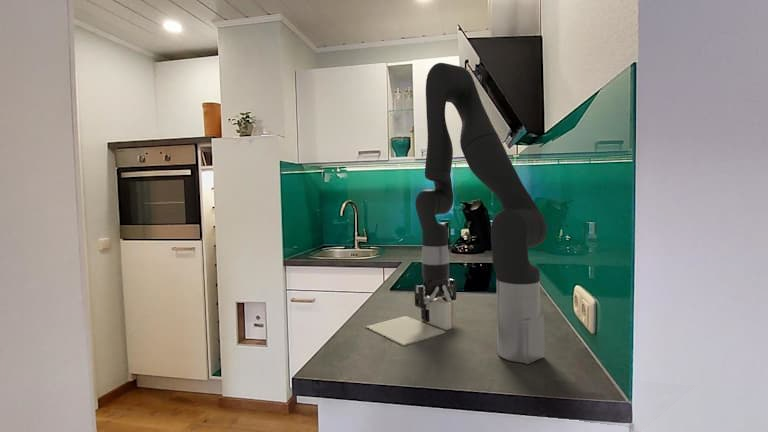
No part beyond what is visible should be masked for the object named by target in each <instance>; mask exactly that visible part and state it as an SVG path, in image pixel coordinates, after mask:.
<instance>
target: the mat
mask: <svg viewBox="0 0 768 432" xmlns="http://www.w3.org/2000/svg"><path fill="white" fill-rule="evenodd" d="M365 327H367V328H366V329H368V328H369V329H368V330H369V331H370V330H371V331H372V332H375V334H378V335H380V336H382V337H384V336H385V337H384V338H386V339H389V340H391V341H392V342H394V343H396V344H398V345H401V346H403V347H405V346H408V345H411V344H412V345H413V344H415V343H417V342H421V341H423V340H424V341H425V340H427V339H430V338H434V337H437V336H439V335H442V334H446V330H444V329H442V328H439V327H438V328H437V327H436V326H434V325H431V324H429V323H426V322H423V321H419V320H417V319H414V318H413V317H409V316H407V315H404V316H400V317H396V318H393V319H389V320H386V321H382V322H378V323H374V324H370V325H367V326H365Z"/></svg>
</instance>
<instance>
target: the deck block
mask: <svg viewBox="0 0 768 432" xmlns="http://www.w3.org/2000/svg"><path fill="white" fill-rule="evenodd" d="M427 297H428V298H429V296H427ZM426 302H427V301H426ZM425 304H426V303H425ZM453 313H454V312H453V311H452V303H451V302H447V301H444V300H442V298H441V299H440V298H438V297H437V298H434V300H433V302H431V304H430V307H429V317H430V321H429V322H427V323H426V324H428V325H431V326H433V327H436V328H437V327H438V328H439V329H441V330H444V331H447V330H450V329H453V328H454V326H453V325H454V322H453V321H454V319H453V318H454V317H453ZM421 322H424V321H423V320H422V319H421Z"/></svg>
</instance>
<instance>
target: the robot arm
mask: <svg viewBox="0 0 768 432" xmlns="http://www.w3.org/2000/svg"><path fill="white" fill-rule="evenodd" d="M447 103H451V104H452V105H453V106H454V108H455V109H456V112H457V113H458V115H459V119H460V121H461V130H460V136H459V138H460V139H459V143H460V149H461V152H462V154H463V157H464V159H465V161H466V163H467V166H468V167H469V168H470V171H471V172H472V174H474V175H475V177H476V178H477V179H478V180H479V181H480V182H481V183H482V184H483V185H484V186H485V187H487V189H489V190H490V191H491V192H492V194H493V195H494V196H495V197H496V198H497V200H498V201H499V203H500V205H501V207H502V208H503V209H502V210H500V211H498V212H497V213H496V214H495V215H494V217H493V219H492V222H491V228H490V243H491V258H492V266H493V267H494V270H495V273H496V276H495V277H496V335H497V336H496V338H497V339H496V340H497V345H496V346H497V349H496V350H497V354H498V356H500V358H503V359H504V360H507V361H511V362H514V363H523V364H526V365H529V364H532V363H534V362H535V361H536V362H537V361H538V360H540V359H543V358H545V316H544V315H543V314H541V283H540V282H541V281H540V280H541V278H540V277H541V274H540V273H541V272H540V269H539V267H538V266H537V265H533V264H531V262H530V260H529V252H528V251H529V250H528V249H531V248H536V247H538V246H539V245H542V243H544V241H545V239H546V237H547V233H548V227H547V223H546V220H545V217H544V215H543V214H542V211H540V209H539V207H538V206H537V204H536V202H535V201H534V200H533V198H532V196H531V194H529V192H528V191H527V189H526V187H525V185H524V184H523V181H522V180H521V178H520V176H519V174H518V173H517V170H516V169H515V167H514V165H513V163H512V161H511V159H510V158H509V154H508V153H507V151H506V149H505V146H504V145H503V142H502V141H501V138H500V136H499V135H498V133H497V131H496V129H495V127H494V126H493V123H492V121H491V120H490V117H489V115H488V113H487V111H486V109H485V108H484V105H483V102H482V99H481V97H480V94H479V91H478V89H477V86H476V82H475V80H474V78H473V76H472V74H471V72H470V71H469V70H468V69H466V67H463V66H460V65H457V64H456V65H454V64H451V63H444V62H437V63H435V64H433V66H431V68H430V69H429V71H428V73H427V75H426V80H425V104H426V105H425V107H426V111H425V113H426V125H427V126H426V127H427V128H426V129H427V130H426V131H427V142H426V143H427V147H426V156H425V157H426V158H425V164H424V165H425V166H424V177H425V179H427V180H428V181H432V182H433V183H434V189H424V190H421V191H419V193H418V194H417V196H416V197H415V203H414V204H415V211H416V215H417V218H418V221H419V225H420V228H421V237H422V244H421V245H422V246H421V247H422V248H421V276H422V279H423V284H422V285H417V284H416V285H414V287H413V288H414V291H413V292H414V306H415V307H417V308H418V309H420V310H421V312H420V314H421V316H420V317H421V321H422V320H423V321H422V322H423V323H425V324H428V323H427V322H429V321H430V317H429V307H430V304H431V302H433V300H434V298H437V299H438V298H439V297H440V298H441V300H444V301H447V302H451V303H452V302H453V301H456V300H457V279H453V278H449V277H450V251H449V244H448V242H449V241H448V240H449V239H448V234H449V233H448V232H449V231H448V226H447V225H445V224H444V223H440V222H438V219H437V217H436V216H438V215H446V214H448V213H449V212H450V211H451V210H452V207H453V205H454V192H453V185H452V184H453V183H452V177H451V176H452V175H451V172H452V166H453V165H452V164H453V157H454V148H453V143H452V139H451V135H450V133H449V129H448V125H447V122H446V105H447ZM427 296H429V298H428V297H427ZM426 301H427V302H426ZM425 303H426V304H425Z"/></svg>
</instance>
